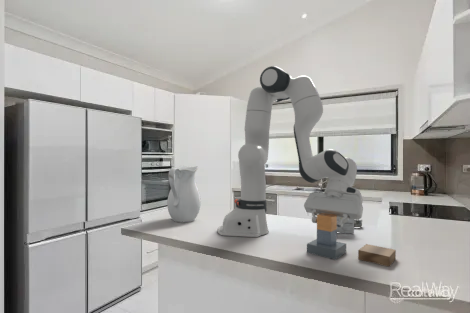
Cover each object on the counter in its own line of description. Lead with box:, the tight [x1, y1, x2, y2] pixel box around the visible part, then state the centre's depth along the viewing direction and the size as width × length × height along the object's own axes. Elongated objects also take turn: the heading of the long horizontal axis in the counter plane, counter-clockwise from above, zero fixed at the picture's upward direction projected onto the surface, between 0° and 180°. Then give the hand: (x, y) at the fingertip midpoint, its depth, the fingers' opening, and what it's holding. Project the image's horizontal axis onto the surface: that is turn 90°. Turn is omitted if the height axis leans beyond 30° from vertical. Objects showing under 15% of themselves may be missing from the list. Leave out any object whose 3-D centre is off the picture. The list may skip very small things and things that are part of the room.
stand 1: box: [306, 238, 347, 260], centre depth 96 cm, size 10×10×3 cm
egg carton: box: [354, 219, 363, 228], centre depth 137 cm, size 11×8×4 cm
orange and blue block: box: [316, 213, 338, 247], centre depth 96 cm, size 5×5×10 cm
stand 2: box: [357, 243, 397, 267], centre depth 90 cm, size 9×9×3 cm
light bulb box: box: [337, 217, 355, 234], centre depth 126 cm, size 11×7×11 cm, turn 84°
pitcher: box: [166, 165, 202, 223], centre depth 140 cm, size 24×17×28 cm
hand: (326, 224), depth 96 cm, fingers open, 8 cm apart
